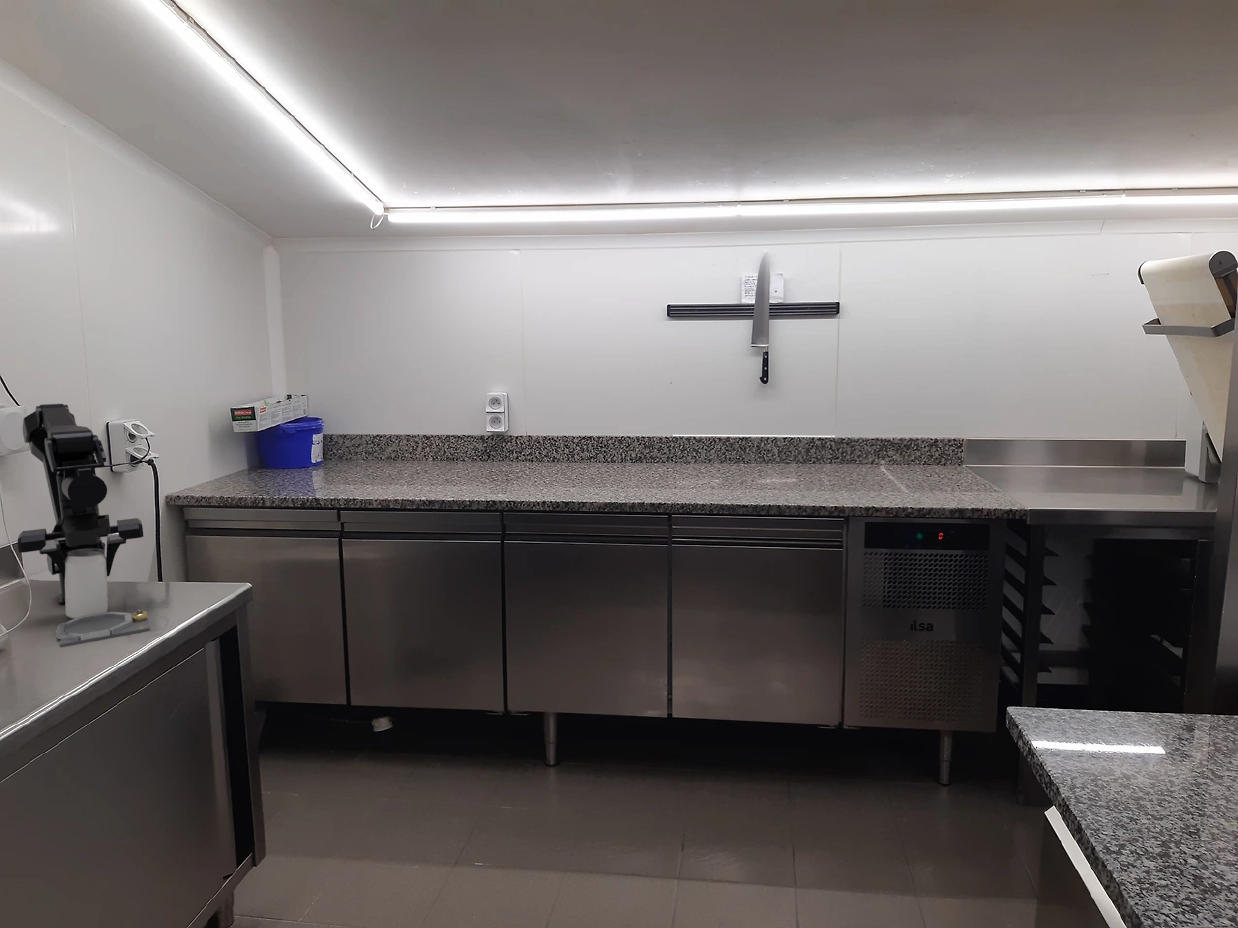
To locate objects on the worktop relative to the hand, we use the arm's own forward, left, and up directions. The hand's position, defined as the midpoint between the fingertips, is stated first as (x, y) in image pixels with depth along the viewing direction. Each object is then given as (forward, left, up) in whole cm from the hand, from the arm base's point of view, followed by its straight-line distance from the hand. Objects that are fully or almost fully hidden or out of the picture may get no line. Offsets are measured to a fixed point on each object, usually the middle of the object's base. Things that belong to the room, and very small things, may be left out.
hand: (88, 578), depth 140 cm
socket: (+10, 0, -7) cm, 12 cm away
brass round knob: (+10, +7, -7) cm, 14 cm away
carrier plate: (+10, +2, -7) cm, 13 cm away
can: (0, -1, -7) cm, 7 cm away
